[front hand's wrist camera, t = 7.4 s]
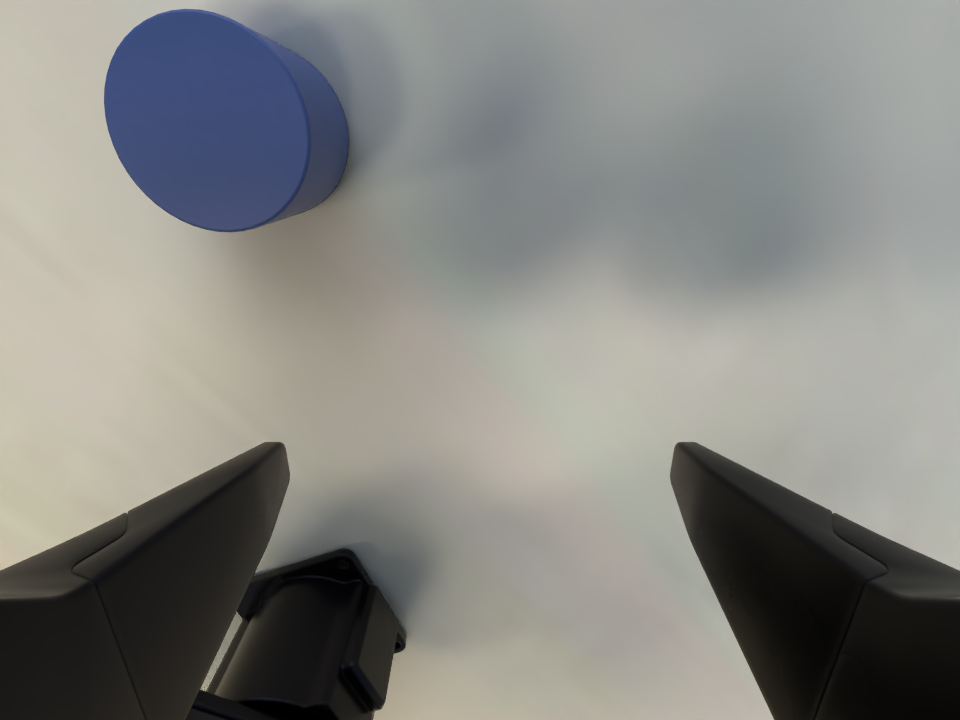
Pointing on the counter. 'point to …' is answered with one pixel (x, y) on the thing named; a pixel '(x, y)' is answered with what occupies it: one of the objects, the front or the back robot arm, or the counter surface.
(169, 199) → the cylinder
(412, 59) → the counter surface
